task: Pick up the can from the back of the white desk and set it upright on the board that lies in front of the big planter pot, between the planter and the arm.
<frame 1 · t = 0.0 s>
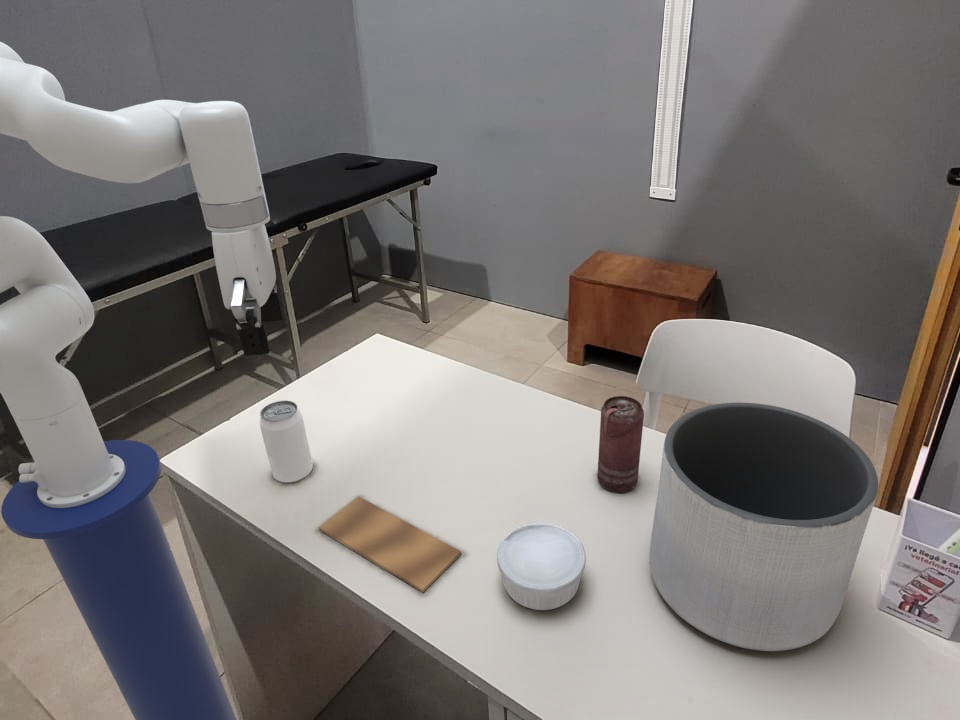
hand: (265, 336, 87), 28 cm above the table, tool pointing down, fingers open, 9 cm apart
ramekin: (541, 583, 84), on the table
can: (293, 472, 106), on the table
planter: (738, 581, 83), on the table
board: (388, 541, 91), on the table
can 2: (616, 482, 100), on the table
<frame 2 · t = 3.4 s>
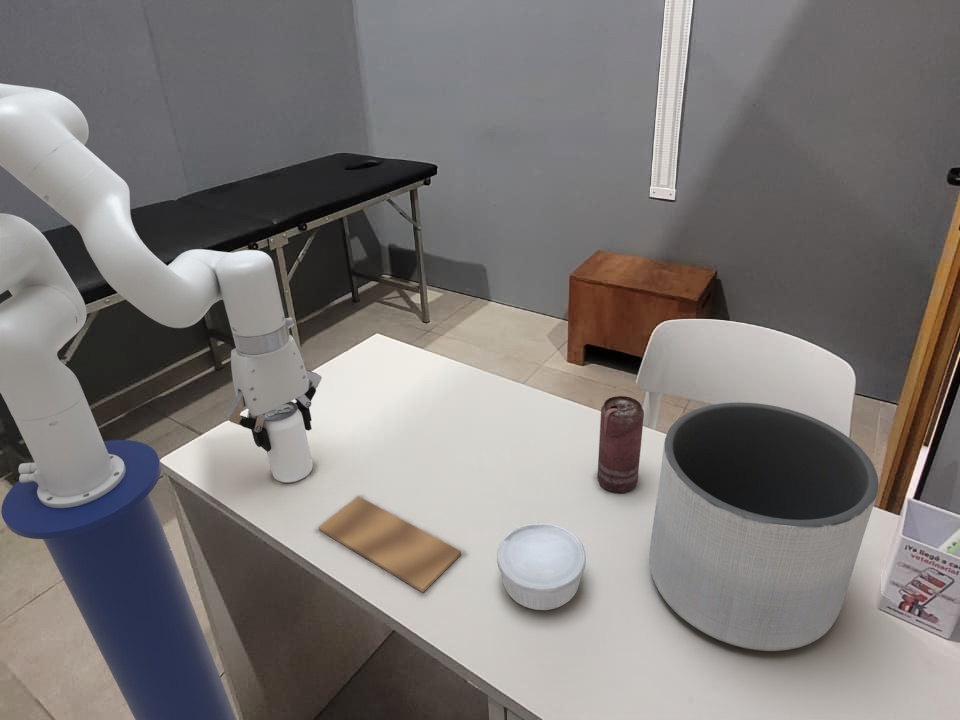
hand: (285, 436, 102), 7 cm above the table, tool pointing down, fingers closed on can, 6 cm apart
can: (293, 472, 106), on the table, touching gripper
everything else where it was.
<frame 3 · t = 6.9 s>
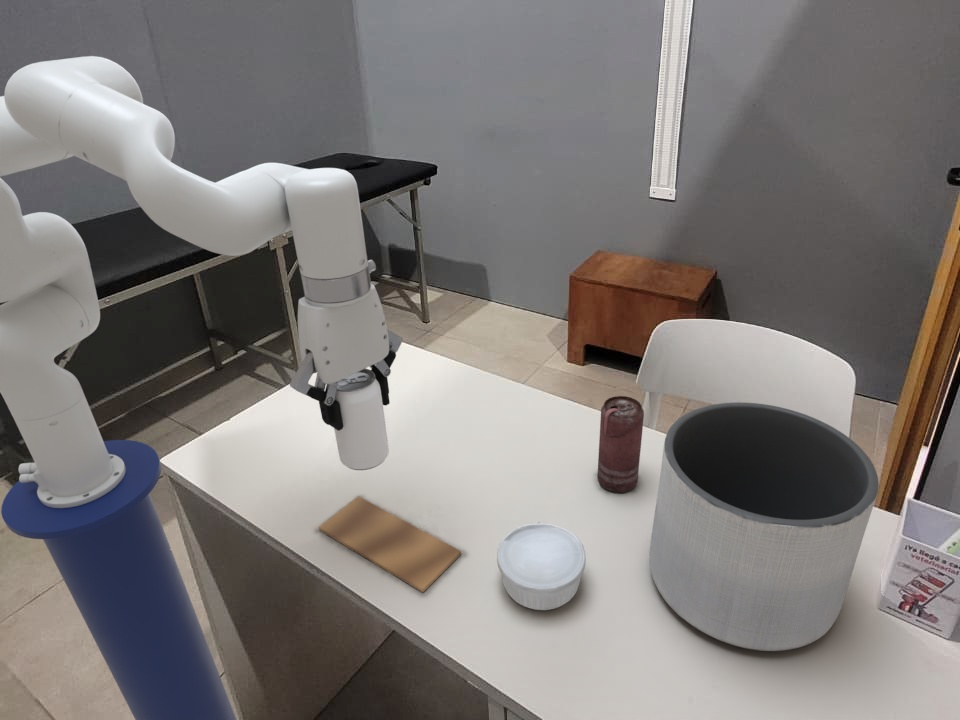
hand: (357, 412, 82), 21 cm above the table, tool pointing down, fingers closed on can, 6 cm apart
can: (365, 457, 86), point 14 cm above the table, touching gripper
everything else where it was.
when the fingers open (8 cm above the table, at t = 10.4 s): can stays where it is, resting on board.
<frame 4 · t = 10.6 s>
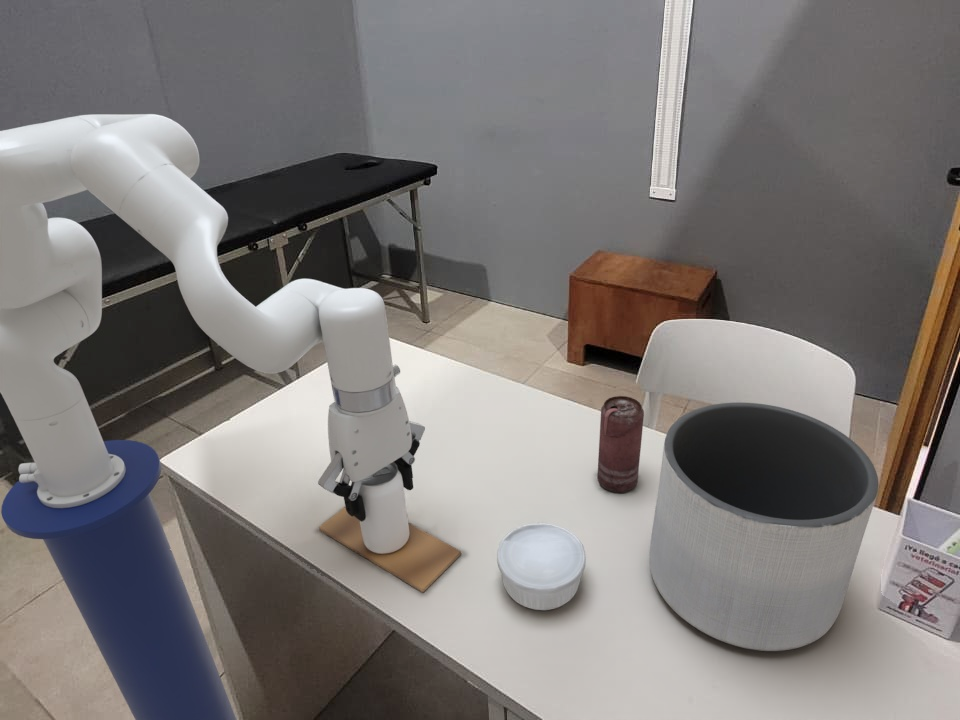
hand: (381, 499, 87), 8 cm above the table, tool pointing down, fingers open, 7 cm apart
can: (387, 539, 91), resting on board
everything else where it was.
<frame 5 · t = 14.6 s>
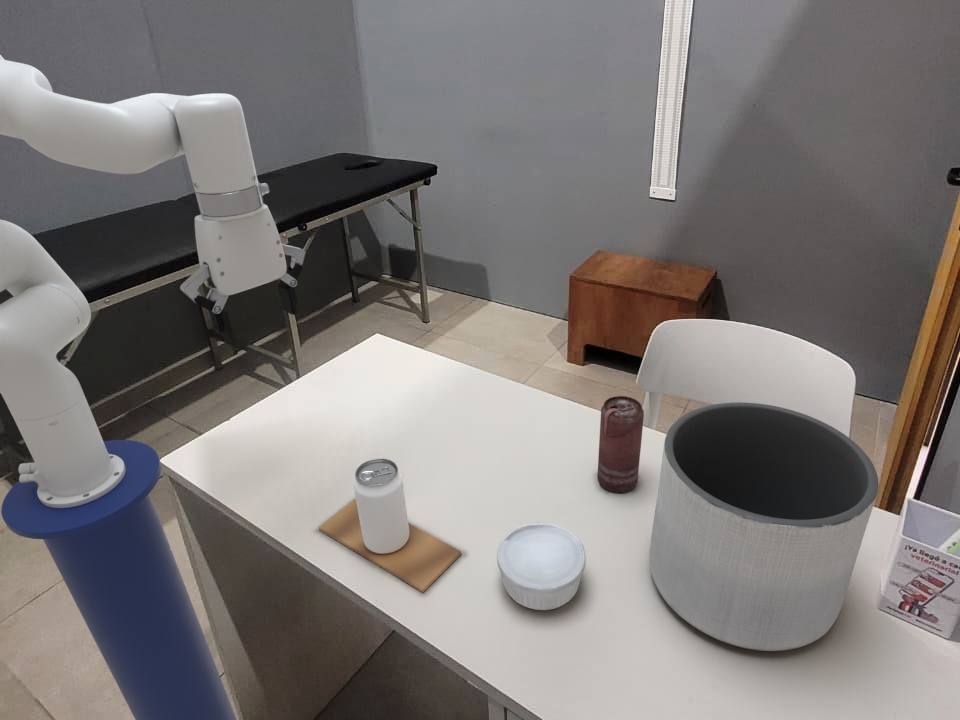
hand: (259, 323, 89), 28 cm above the table, tool pointing down, fingers open, 9 cm apart
nothing on the table moved.
at the end: can inside the target area on the board (0.1 cm from its centre), point 0.4 cm above the board's base; can tilted 0°; can 47.0 cm from the planter (horizontally) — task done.
